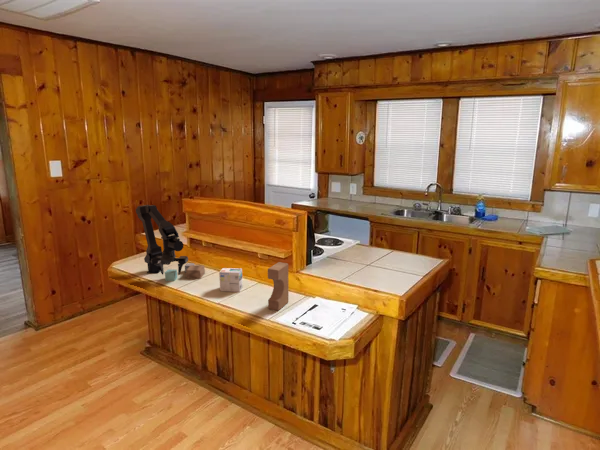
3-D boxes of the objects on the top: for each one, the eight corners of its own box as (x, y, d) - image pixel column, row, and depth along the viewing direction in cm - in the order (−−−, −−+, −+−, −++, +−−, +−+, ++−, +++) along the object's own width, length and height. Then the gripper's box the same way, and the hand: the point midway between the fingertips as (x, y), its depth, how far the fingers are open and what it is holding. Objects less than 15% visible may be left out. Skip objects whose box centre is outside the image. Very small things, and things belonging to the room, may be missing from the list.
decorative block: (278, 311, 185) (277, 270, 181) (267, 309, 188) (266, 268, 183) (289, 302, 195) (289, 263, 190) (278, 300, 198) (278, 261, 193)
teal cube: (165, 281, 221) (164, 272, 220) (168, 277, 226) (167, 269, 225) (174, 281, 221) (173, 272, 220) (177, 277, 226) (176, 269, 225)
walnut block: (186, 278, 225) (186, 270, 224) (191, 273, 233) (190, 265, 232) (200, 278, 225) (200, 270, 224) (204, 273, 233) (204, 265, 232)
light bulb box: (243, 287, 213) (242, 268, 210) (240, 292, 207) (239, 272, 204) (223, 286, 214) (222, 267, 211) (219, 291, 208) (218, 271, 205)
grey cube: (185, 273, 233) (184, 265, 232) (187, 270, 237) (186, 263, 236) (192, 273, 233) (192, 265, 232) (194, 270, 238) (194, 263, 236)
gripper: (146, 251, 211) (148, 279, 215) (181, 252, 211) (183, 280, 215) (154, 245, 222) (156, 272, 226) (187, 246, 222) (189, 272, 226)
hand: (171, 274), depth 223 cm, fingers open, 9 cm apart
